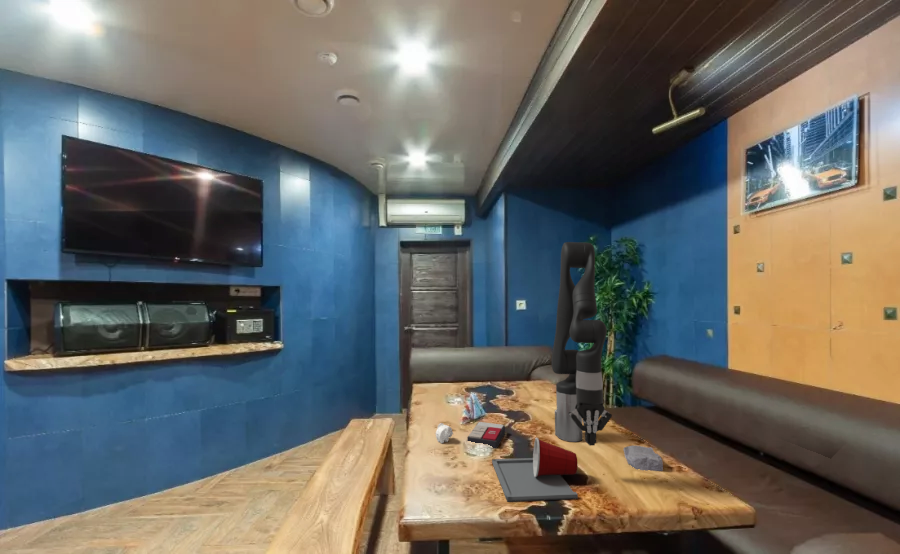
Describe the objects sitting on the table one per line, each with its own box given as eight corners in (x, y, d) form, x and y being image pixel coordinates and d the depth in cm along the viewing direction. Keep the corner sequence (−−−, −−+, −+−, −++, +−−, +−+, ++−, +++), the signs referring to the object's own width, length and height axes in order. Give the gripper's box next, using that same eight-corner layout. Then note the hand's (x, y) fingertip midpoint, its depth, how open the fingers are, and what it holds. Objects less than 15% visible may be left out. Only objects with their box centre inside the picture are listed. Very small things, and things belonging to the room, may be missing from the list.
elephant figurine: (457, 441, 133) (457, 425, 133) (440, 446, 128) (440, 430, 128) (447, 435, 138) (447, 420, 138) (430, 441, 133) (430, 424, 134)
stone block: (633, 476, 110) (667, 472, 109) (629, 460, 111) (663, 455, 109) (621, 460, 122) (652, 456, 120) (618, 446, 123) (648, 442, 121)
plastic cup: (568, 448, 113) (530, 441, 114) (578, 439, 105) (538, 433, 106) (570, 486, 107) (530, 479, 108) (581, 481, 98) (538, 473, 99)
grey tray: (549, 461, 116) (549, 457, 116) (577, 499, 94) (577, 494, 94) (492, 463, 115) (492, 459, 115) (507, 501, 93) (507, 497, 93)
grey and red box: (466, 435, 130) (478, 420, 144) (467, 447, 130) (478, 430, 144) (496, 439, 126) (505, 423, 140) (496, 451, 126) (505, 434, 140)
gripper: (604, 382, 112) (606, 439, 111) (563, 383, 111) (564, 440, 110) (616, 388, 104) (618, 449, 103) (572, 389, 103) (574, 450, 102)
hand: (590, 444), depth 107 cm, fingers closed
